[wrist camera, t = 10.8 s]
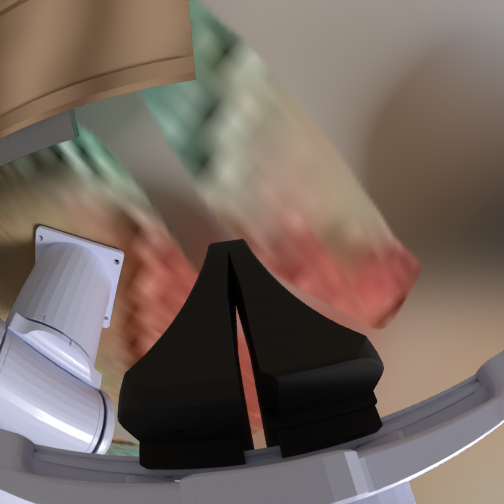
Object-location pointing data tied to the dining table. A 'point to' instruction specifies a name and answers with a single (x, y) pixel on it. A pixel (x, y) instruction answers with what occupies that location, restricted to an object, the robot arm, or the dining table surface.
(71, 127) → the pivot stand
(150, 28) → the beam
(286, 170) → the dining table surface
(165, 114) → the dining table surface
